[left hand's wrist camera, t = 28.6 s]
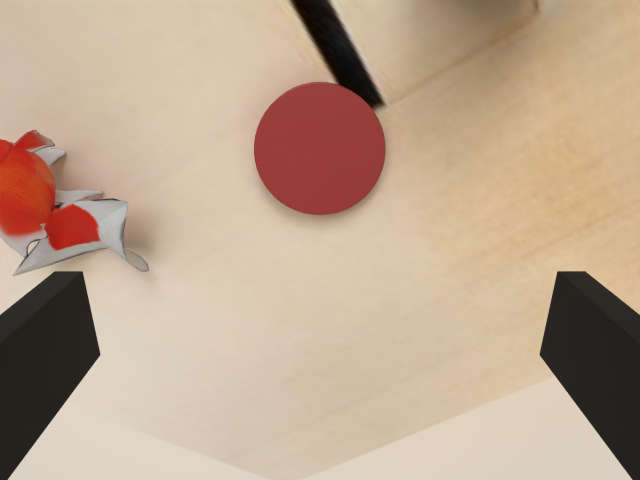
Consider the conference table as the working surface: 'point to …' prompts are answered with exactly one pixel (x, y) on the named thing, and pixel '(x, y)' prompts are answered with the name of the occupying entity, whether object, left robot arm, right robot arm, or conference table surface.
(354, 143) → the lid
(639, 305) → the conference table surface
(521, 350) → the conference table surface
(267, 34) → the conference table surface
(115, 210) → the fish
